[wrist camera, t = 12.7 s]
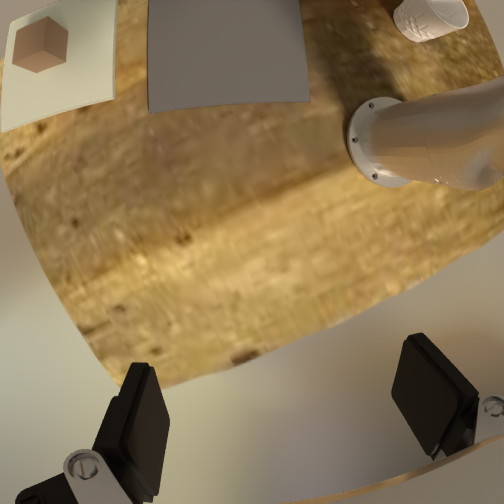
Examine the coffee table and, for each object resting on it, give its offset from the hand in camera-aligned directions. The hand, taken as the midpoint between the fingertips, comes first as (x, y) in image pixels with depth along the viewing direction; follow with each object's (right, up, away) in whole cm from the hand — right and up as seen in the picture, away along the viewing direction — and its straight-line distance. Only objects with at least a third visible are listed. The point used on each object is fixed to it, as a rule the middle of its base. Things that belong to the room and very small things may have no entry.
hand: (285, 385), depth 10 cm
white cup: (+23, +40, +22) cm, 51 cm away
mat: (-5, +32, +22) cm, 39 cm away
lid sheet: (-23, +26, +12) cm, 37 cm away
